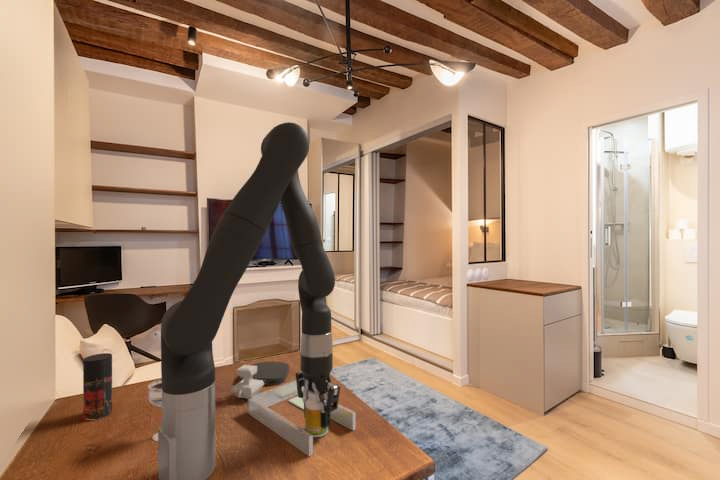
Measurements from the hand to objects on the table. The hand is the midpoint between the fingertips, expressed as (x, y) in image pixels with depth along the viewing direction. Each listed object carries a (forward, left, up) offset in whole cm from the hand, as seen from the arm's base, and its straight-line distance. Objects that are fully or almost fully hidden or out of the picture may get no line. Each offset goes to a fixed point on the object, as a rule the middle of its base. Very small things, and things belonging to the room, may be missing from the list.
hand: (316, 421), depth 79 cm
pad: (+7, +13, -2) cm, 15 cm away
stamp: (-2, +29, -3) cm, 29 cm away
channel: (+2, +7, -2) cm, 8 cm away
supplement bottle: (0, 0, -2) cm, 2 cm away
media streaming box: (+9, +38, -3) cm, 39 cm away
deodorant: (-34, +48, -2) cm, 59 cm away
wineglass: (-25, +25, -2) cm, 35 cm away
